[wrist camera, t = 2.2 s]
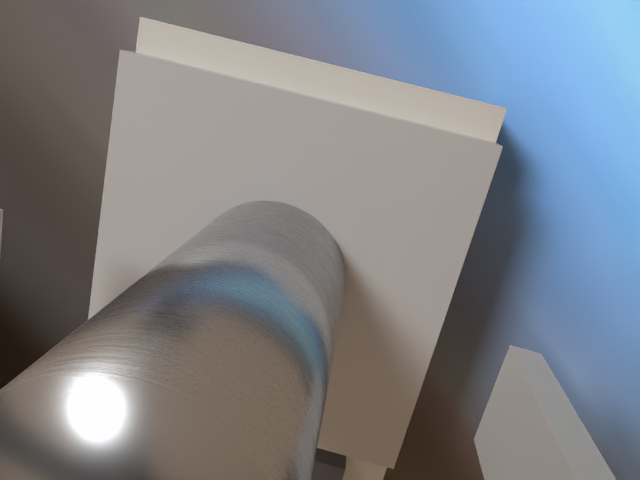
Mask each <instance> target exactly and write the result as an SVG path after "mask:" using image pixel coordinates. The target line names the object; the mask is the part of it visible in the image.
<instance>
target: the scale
mask: <svg viewBox="0 0 640 480" xmlns="http://www.w3.org/2000/svg"><path fill="white" fill-rule="evenodd" d="M506 111H507V108H504V107H500V106H496V105H492V104H488V103H484V102H480V101H476V100H472V99H468V98H464V97H460V96H456V95H452V94H448V93H444V92H440V91H436V90H432V89H428V88H424V87H420V86H416V85H412V84H408V83H404V82H400V81H396V80H392V79H388V78H384V77H380V76H376V75H372V74H368V73H364V72H360V71H356V70H352V69H348V68H344V67H340V66H336V65H332V64H328V63H324V62H320V61H316V60H312V59H308V58H304V57H300V56H296V55H292V54H288V53H284V52H280V51H276V50H272V49H268V48H263V47H259V46H255V45H251V44H247V43H243V42H239V41H235V40H231V39H227V38H223V37H219V36H215V35H211V34H207V33H203V32H199V31H195V30H191V29H187V28H183V27H179V26H175V25H171V24H167V23H163V22H159V21H155V20H151V19H147V18H143V17H140V21H139V29H138V37H137V45H136V52H133V51H126V50H120V54H119V62H118V71H117V79H116V88H115V96H114V105H113V113H112V122H111V130H110V139H109V147H108V155H107V164H106V172H105V181H104V189H103V198H102V206H101V215H100V223H99V231H98V240H97V248H96V257H95V265H94V274H93V282H92V291H91V299H90V307H89V316H88V319H90V318H91V317H92V316H94V315H95V314H96V313H97V312H99V311H100V310H101V309H102V308H104V307H105V306H106V305H107V304H109V303H110V302H111V301H112V300H114V299H115V298H116V297H117V296H119V295H120V294H121V293H122V292H124V291H125V290H126V289H127V288H129V287H130V286H131V285H132V284H134V283H135V282H136V281H137V280H139V279H140V278H141V277H143V276H144V275H145V274H146V273H148V272H149V271H150V270H151V269H153V268H154V267H155V266H156V265H158V264H159V263H160V262H161V261H163V260H164V259H165V258H166V257H168V256H169V255H170V254H171V253H173V252H174V251H175V250H176V249H178V248H179V247H180V246H181V245H183V244H184V243H185V242H186V241H188V240H189V239H190V238H192V237H193V236H194V235H195V234H197V233H198V232H199V231H200V230H202V229H203V228H204V227H205V226H207V225H208V224H209V223H210V222H212V221H213V220H214V219H215V218H217V217H218V216H219V215H221V214H222V213H224V212H225V211H227V210H229V209H231V208H233V207H235V206H238V205H241V204H243V203H248V202H253V201H276V202H281V203H286V204H289V205H292V206H295V207H297V208H299V209H301V210H303V211H305V212H307V213H308V214H310V215H311V216H313V217H314V218H316V219H317V220H318V221H319V222H320V223H322V224H323V226H324V227H325V228H326V229H327V230H328V231H329V232H330V234H331V235H332V236H333V238H334V239H335V241H336V243H337V245H338V247H339V248H340V251H341V253H342V256H343V259H344V264H345V268H346V290H345V296H344V301H343V307H342V312H341V318H340V323H339V329H338V334H337V340H336V345H335V351H334V356H333V362H332V367H331V373H330V379H329V384H328V390H327V395H326V401H325V406H324V412H323V417H322V423H321V428H320V434H319V439H318V445H317V450H316V456H315V461H314V467H313V472H312V478H311V480H383V478H384V475H385V472H386V469H387V467H388V468H391V469H394V466H395V463H396V461H397V458H398V455H399V452H400V449H401V446H402V443H403V440H404V437H405V434H406V431H407V428H408V425H409V422H410V419H411V416H412V413H413V410H414V408H415V405H416V402H417V399H418V396H419V393H420V390H421V387H422V384H423V381H424V378H425V375H426V372H427V369H428V366H429V363H430V360H431V357H432V355H433V352H434V349H435V346H436V343H437V340H438V337H439V334H440V331H441V328H442V325H443V322H444V319H445V316H446V313H447V310H448V307H449V304H450V302H451V299H452V296H453V293H454V290H455V287H456V284H457V281H458V278H459V275H460V272H461V269H462V266H463V263H464V260H465V257H466V254H467V251H468V249H469V246H470V243H471V240H472V237H473V234H474V231H475V228H476V225H477V222H478V219H479V216H480V213H481V210H482V207H483V204H484V201H485V199H486V196H487V193H488V190H489V187H490V184H491V181H492V178H493V175H494V172H495V169H496V166H497V163H498V160H499V157H500V154H501V151H502V148H503V146H501V145H499V144H497V143H496V141H497V138H498V135H499V132H500V129H501V126H502V123H503V120H504V117H505V114H506Z"/></svg>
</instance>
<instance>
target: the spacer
mask: <svg viewBox="0 0 640 480" xmlns="http://www.w3.org/2000/svg"><path fill="white" fill-rule="evenodd" d="M345 290H346V268H345V264H344V259H343V256H342V253H341V251H340V248H339V247H338V245H337V243H336V241H335V239H334V238H333V236H332V235H331V234H330V232H329V231H328V230H327V229H326V228H325V227H324V226H323V224H322V223H320V222H319V221H318V220H317V219H316V218H314V217H313V216H311V215H310V214H308V213H307V212H305V211H303V210H301V209H299V208H297V207H295V206H292V205H289V204H286V203H281V202H276V201H253V202H248V203H243V204H241V205H238V206H235V207H233V208H231V209H229V210H227V211H225V212H224V213H222V214H221V215H219V216H218V217H217V218H215V219H214V220H213V221H212V222H210V223H209V224H208V225H207V226H205V227H204V228H203V229H202V230H200V231H199V232H198V233H197V234H195V235H194V236H193V237H192V238H190V239H189V240H188V241H186V242H185V243H184V244H183V245H181V246H180V247H179V248H178V249H176V250H175V251H174V252H173V253H171V254H170V255H169V256H168V257H166V258H165V259H164V260H163V261H161V262H160V263H159V264H158V265H156V266H155V267H154V268H153V269H151V270H150V271H149V272H148V273H146V274H145V275H144V276H143V277H141V278H140V279H139V280H137V281H136V282H135V283H134V284H132V285H131V286H130V287H129V288H127V289H126V290H125V291H124V292H122V293H121V294H120V295H119V296H117V297H116V298H115V299H114V300H112V301H111V302H110V303H109V304H107V305H106V306H105V307H104V308H102V309H101V310H100V311H99V312H97V313H96V314H95V315H94V316H92V317H91V318H90V319H88V320H87V321H86V322H85V323H83V324H82V325H81V326H80V327H78V328H77V329H76V330H75V331H73V332H72V333H71V334H70V335H68V336H67V337H66V338H65V339H63V340H62V341H61V342H60V343H58V344H57V345H56V346H55V347H53V348H52V349H51V350H50V351H48V352H47V353H46V354H45V355H43V356H42V357H41V358H39V359H38V360H37V361H36V362H34V363H33V364H32V365H31V366H29V367H28V368H27V369H26V370H24V371H23V372H22V373H21V374H19V375H18V376H17V377H16V378H14V379H13V380H12V381H11V382H9V383H8V384H7V385H6V386H4V387H3V388H2V389H1V390H0V480H311V478H312V472H313V467H314V461H315V456H316V450H317V445H318V439H319V434H320V428H321V423H322V417H323V412H324V406H325V401H326V395H327V390H328V384H329V379H330V373H331V367H332V362H333V356H334V351H335V345H336V340H337V334H338V329H339V323H340V318H341V312H342V307H343V301H344V296H345Z"/></svg>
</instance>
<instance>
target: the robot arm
mask: <svg viewBox="0 0 640 480" xmlns="http://www.w3.org/2000/svg"><path fill="white" fill-rule="evenodd" d="M2 220H3V209H0V252H1V236H2ZM474 442H475V446H476V450H477V454H478V458H479V462H480V466H481V470H482V473H483V477H484V480H616V478H615V477H614V475H613V473H612V472H611V470H610V468H609V467H608V465H607V463H606V462H605V460H604V458H603V457H602V455H601V453H600V452H599V450H598V448H597V447H596V445H595V443H594V442H593V440H592V438H591V436H590V435H589V433H588V431H587V430H586V428H585V426H584V425H583V423H582V421H581V420H580V418H579V416H578V415H577V413H576V411H575V410H574V408H573V406H572V405H571V403H570V401H569V400H568V398H567V396H566V395H565V393H564V391H563V389H562V388H561V386H560V384H559V383H558V381H557V379H556V378H555V376H554V374H553V373H552V371H551V369H550V368H549V366H548V364H547V363H546V361H545V359H544V358H543V356H542V354H541V353H537V352H533V351H530V350H526V349H522V348H518V347H515V346H511V345H510V346H509V349H508V351H507V354H506V356H505V359H504V362H503V364H502V367H501V369H500V372H499V375H498V377H497V380H496V382H495V385H494V388H493V390H492V393H491V395H490V398H489V401H488V403H487V406H486V408H485V411H484V414H483V416H482V419H481V421H480V424H479V427H478V429H477V432H476V434H475V437H474Z"/></svg>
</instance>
